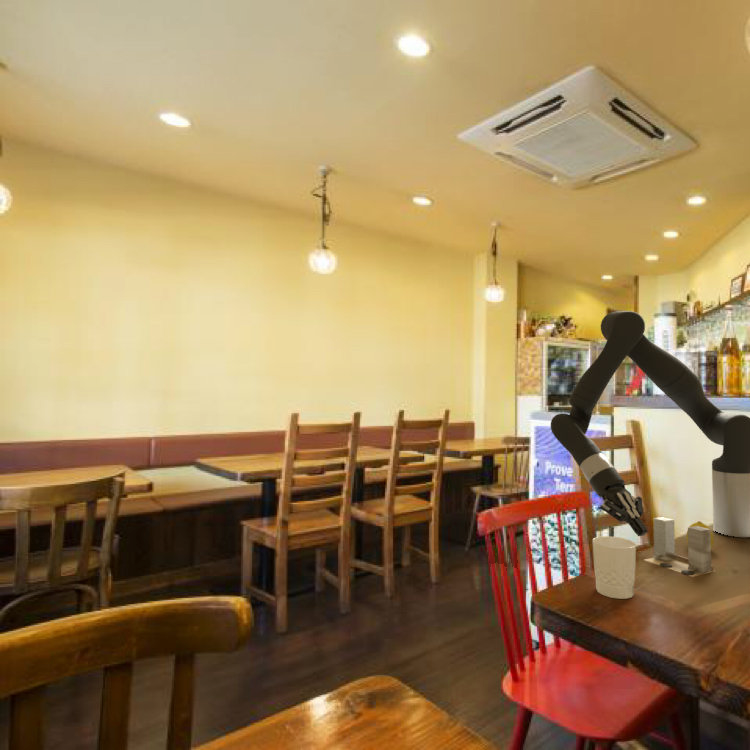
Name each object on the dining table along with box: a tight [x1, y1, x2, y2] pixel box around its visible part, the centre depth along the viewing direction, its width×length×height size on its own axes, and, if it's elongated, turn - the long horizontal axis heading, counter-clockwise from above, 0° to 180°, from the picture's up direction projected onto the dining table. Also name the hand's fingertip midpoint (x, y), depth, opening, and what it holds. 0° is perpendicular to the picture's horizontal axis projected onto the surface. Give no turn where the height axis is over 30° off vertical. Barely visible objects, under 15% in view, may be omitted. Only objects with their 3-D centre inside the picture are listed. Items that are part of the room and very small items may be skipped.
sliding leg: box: [652, 516, 676, 561], centre depth 118 cm, size 5×3×9 cm, turn 114°
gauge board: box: [643, 526, 716, 578], centre depth 114 cm, size 8×12×10 cm, turn 24°
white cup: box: [592, 535, 637, 600], centre depth 103 cm, size 8×8×10 cm
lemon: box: [686, 521, 714, 549], centre depth 125 cm, size 6×6×8 cm
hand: (643, 534), depth 124 cm, fingers closed
